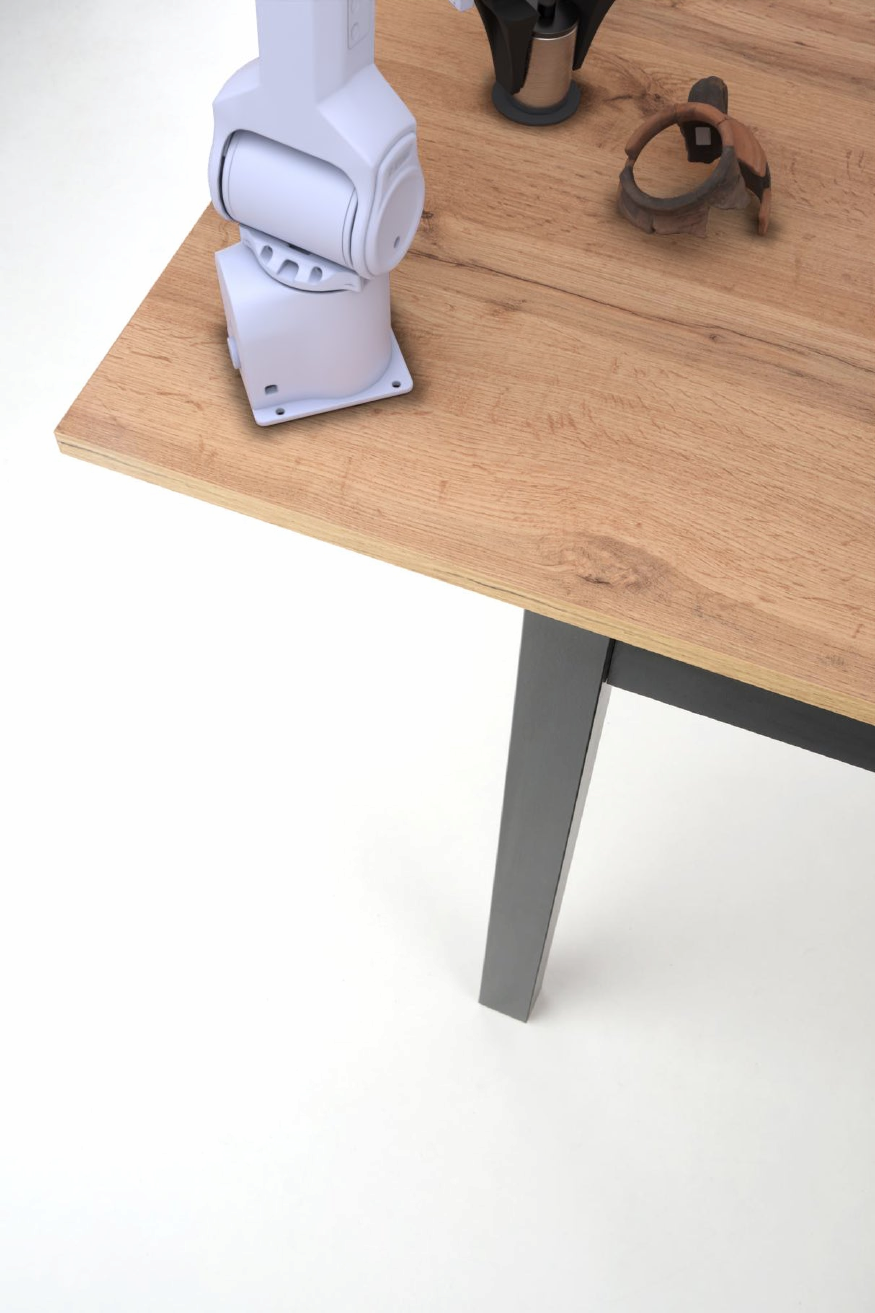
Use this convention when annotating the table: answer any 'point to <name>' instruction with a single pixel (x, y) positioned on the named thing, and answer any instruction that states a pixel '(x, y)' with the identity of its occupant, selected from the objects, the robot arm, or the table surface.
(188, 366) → the table surface
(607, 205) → the table surface
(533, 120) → the trivet
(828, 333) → the table surface
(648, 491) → the table surface
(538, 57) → the steel pot
